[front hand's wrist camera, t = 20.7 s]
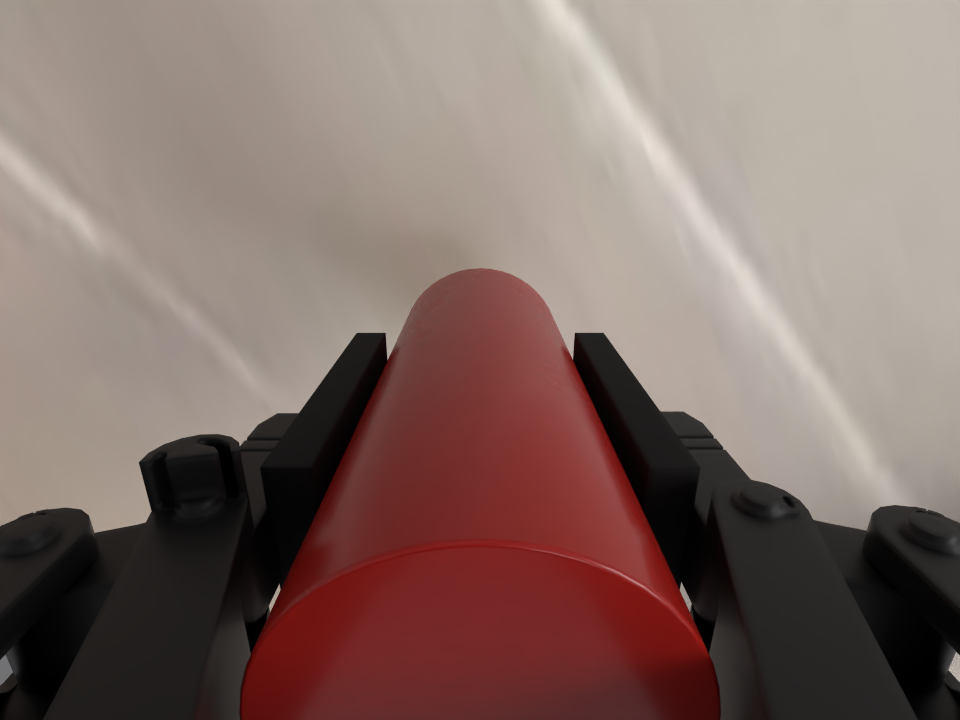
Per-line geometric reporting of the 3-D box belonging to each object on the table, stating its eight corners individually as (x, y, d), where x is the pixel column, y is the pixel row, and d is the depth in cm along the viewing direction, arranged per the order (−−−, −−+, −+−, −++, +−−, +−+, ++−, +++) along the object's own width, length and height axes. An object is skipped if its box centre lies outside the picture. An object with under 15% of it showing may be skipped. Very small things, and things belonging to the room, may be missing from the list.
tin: (374, 357, 17) (153, 766, 6) (464, 235, 16) (421, 439, 4) (493, 438, 18) (516, 923, 7) (588, 330, 17) (827, 705, 5)
